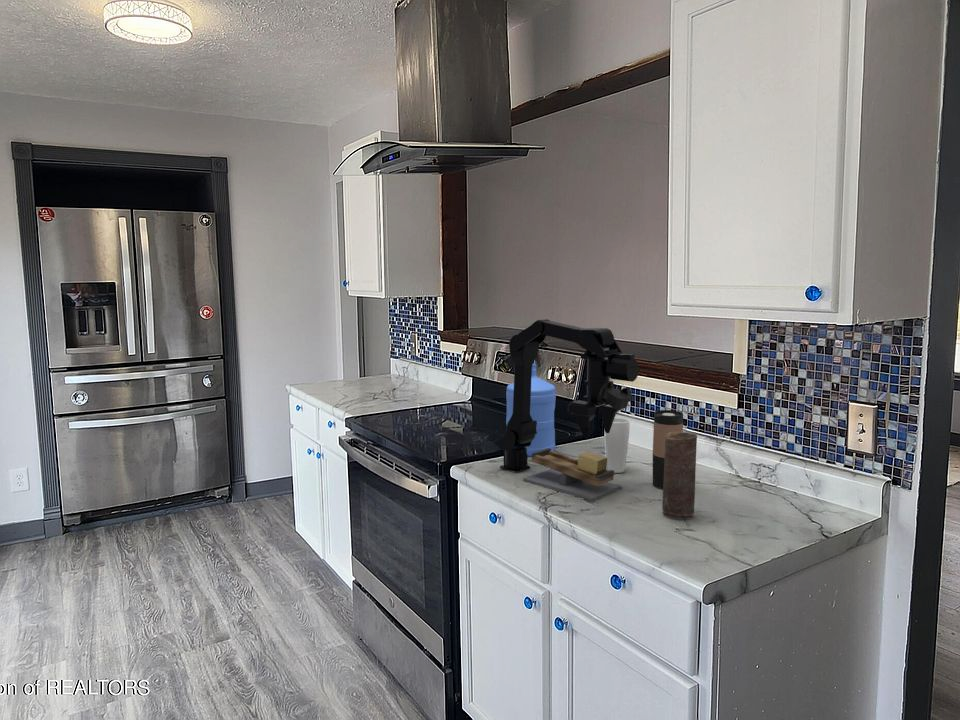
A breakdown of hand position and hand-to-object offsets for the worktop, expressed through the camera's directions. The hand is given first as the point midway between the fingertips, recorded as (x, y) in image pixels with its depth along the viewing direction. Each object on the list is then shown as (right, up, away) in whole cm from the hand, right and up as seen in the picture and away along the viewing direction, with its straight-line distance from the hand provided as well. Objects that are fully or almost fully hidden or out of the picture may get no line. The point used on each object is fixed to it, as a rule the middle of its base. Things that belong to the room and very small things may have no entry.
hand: (597, 436), depth 182 cm
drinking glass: (+9, -12, +19) cm, 24 cm away
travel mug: (+20, -14, +6) cm, 25 cm away
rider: (-1, -10, +1) cm, 10 cm away
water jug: (-15, -9, +41) cm, 44 cm away
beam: (-6, -9, +6) cm, 13 cm away
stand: (-6, -14, +6) cm, 16 cm away
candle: (+16, -17, -16) cm, 29 cm away
